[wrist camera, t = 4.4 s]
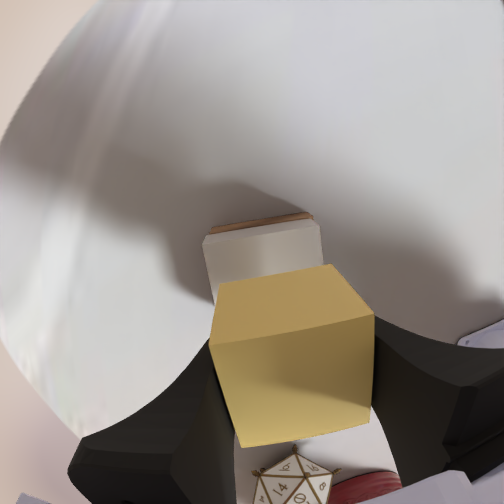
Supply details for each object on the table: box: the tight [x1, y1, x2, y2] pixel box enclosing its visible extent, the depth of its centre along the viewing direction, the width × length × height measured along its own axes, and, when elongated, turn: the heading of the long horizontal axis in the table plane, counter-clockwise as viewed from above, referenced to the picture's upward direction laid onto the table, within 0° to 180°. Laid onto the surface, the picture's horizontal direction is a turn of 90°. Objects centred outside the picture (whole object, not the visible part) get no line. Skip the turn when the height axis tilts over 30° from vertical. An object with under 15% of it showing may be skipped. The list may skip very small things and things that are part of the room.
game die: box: [251, 445, 341, 504], centre depth 22 cm, size 9×8×10 cm
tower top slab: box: [202, 218, 323, 306], centre depth 17 cm, size 6×6×2 cm
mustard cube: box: [209, 264, 374, 448], centre depth 11 cm, size 4×4×4 cm
